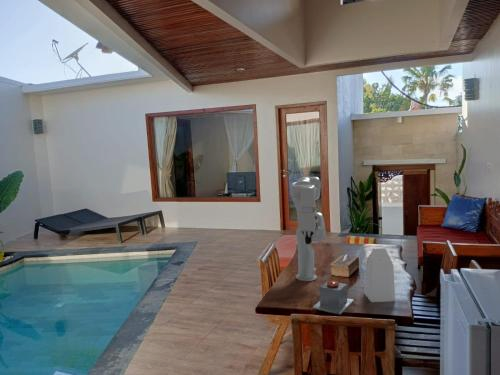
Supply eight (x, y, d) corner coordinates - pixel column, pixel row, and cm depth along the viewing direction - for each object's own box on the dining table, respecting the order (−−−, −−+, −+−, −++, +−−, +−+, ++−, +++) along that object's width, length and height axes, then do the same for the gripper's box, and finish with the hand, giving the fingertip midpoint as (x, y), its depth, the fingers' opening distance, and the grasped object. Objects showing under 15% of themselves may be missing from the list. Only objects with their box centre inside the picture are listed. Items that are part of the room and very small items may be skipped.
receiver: (328, 296, 206) (327, 277, 205) (353, 301, 198) (353, 282, 197) (312, 308, 192) (312, 288, 191) (340, 314, 184) (339, 294, 183)
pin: (330, 298, 199) (330, 279, 198) (340, 300, 195) (340, 281, 194) (325, 301, 194) (325, 283, 193) (336, 304, 191) (335, 285, 190)
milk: (386, 292, 209) (386, 244, 206) (395, 301, 197) (395, 250, 194) (364, 293, 208) (363, 245, 206) (371, 302, 197) (371, 251, 194)
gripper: (323, 209, 207) (324, 243, 209) (298, 207, 215) (299, 240, 217) (317, 211, 201) (318, 246, 202) (291, 209, 209) (292, 243, 211)
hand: (308, 243), depth 210 cm, fingers closed
